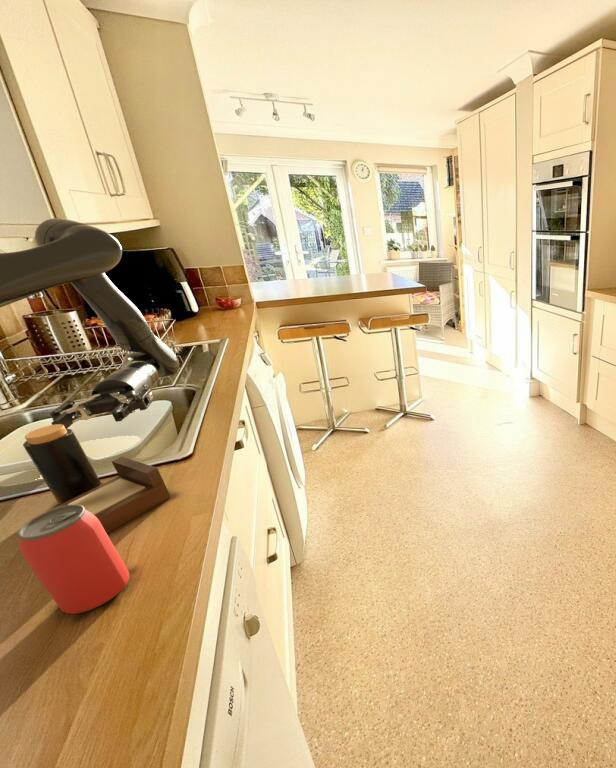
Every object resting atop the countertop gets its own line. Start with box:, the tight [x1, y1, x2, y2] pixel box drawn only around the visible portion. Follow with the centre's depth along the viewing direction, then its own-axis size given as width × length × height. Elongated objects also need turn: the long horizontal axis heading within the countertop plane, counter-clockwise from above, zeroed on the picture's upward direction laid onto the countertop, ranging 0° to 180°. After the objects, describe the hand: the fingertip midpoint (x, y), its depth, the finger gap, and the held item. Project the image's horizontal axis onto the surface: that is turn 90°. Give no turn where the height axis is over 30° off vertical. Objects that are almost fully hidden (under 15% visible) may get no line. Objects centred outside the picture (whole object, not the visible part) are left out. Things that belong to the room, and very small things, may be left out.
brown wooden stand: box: [46, 456, 171, 534], centre depth 66 cm, size 10×11×6 cm
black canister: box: [22, 424, 103, 506], centre depth 68 cm, size 6×6×13 cm
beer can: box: [16, 505, 130, 615], centre depth 50 cm, size 7×7×12 cm
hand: (87, 422), depth 76 cm, fingers open, 8 cm apart
